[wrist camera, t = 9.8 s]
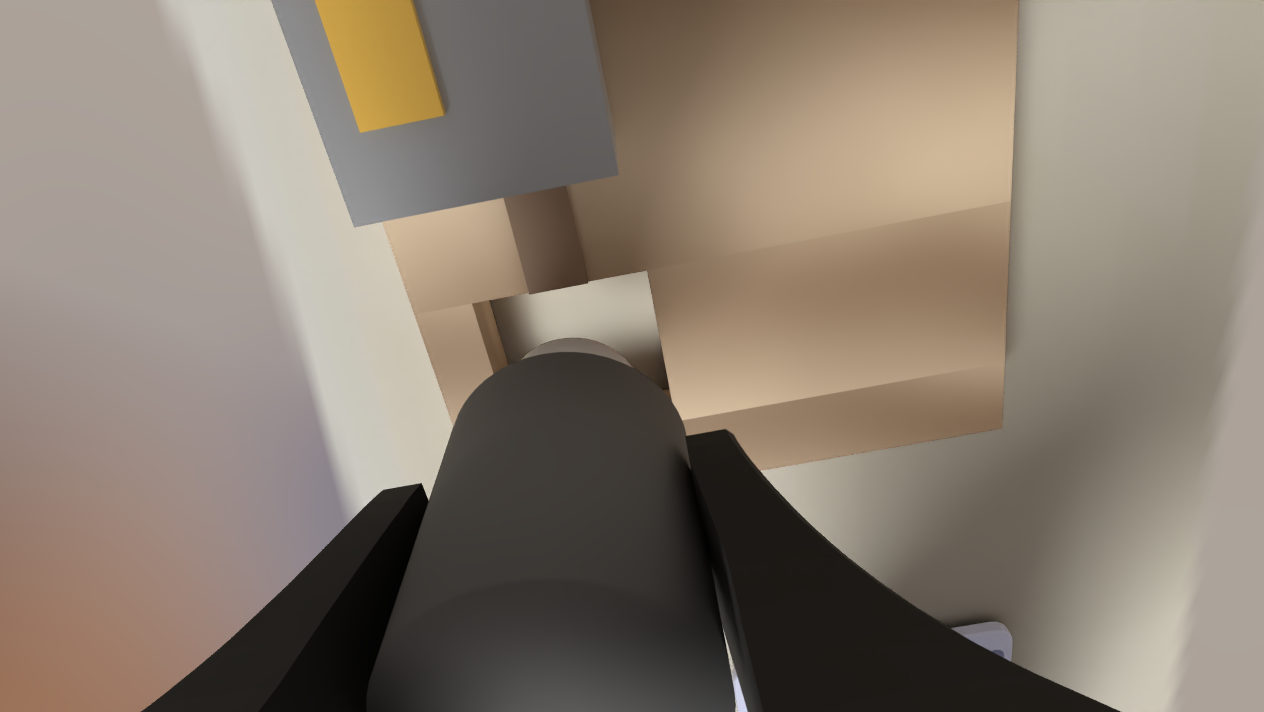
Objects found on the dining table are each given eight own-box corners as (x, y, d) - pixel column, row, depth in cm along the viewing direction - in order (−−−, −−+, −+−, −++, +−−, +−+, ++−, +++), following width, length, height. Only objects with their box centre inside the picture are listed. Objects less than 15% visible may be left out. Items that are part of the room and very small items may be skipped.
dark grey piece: (692, 464, 15) (755, 801, 9) (500, 499, 15) (431, 852, 9) (658, 283, 13) (707, 547, 7) (442, 325, 14) (308, 617, 7)
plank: (972, 395, 18) (1004, 430, 17) (493, 480, 19) (484, 521, 18) (987, -430, 12) (1041, -488, 10) (249, -256, 12) (202, -288, 11)
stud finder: (615, 136, 14) (618, 177, 11) (402, 179, 14) (351, 230, 11) (550, -195, 11) (534, -253, 9) (298, -138, 12) (202, -176, 9)
